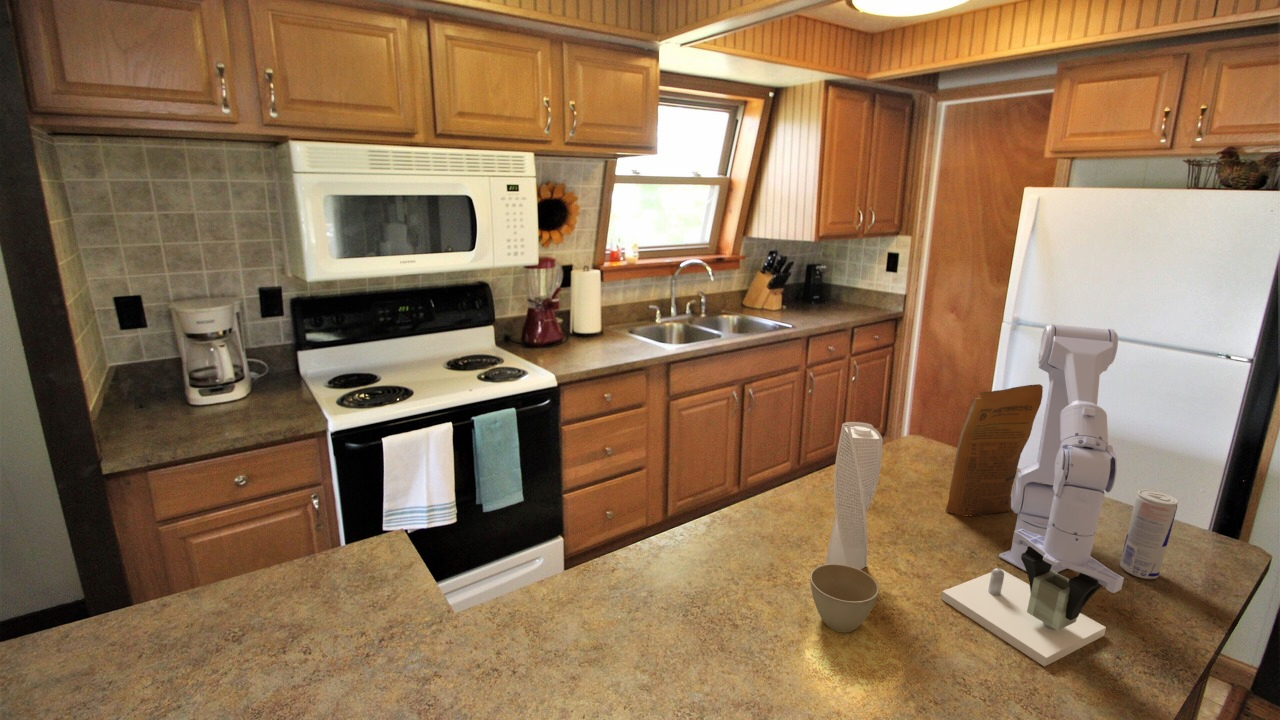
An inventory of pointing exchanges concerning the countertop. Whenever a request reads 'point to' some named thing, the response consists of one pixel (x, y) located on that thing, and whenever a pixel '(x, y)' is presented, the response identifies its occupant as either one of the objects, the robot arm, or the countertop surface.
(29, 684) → the countertop surface
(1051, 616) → the square socket block
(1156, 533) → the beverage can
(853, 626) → the flower pot
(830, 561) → the skyscraper
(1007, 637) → the jig board
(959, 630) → the countertop surface
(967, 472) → the pancake mix bag
